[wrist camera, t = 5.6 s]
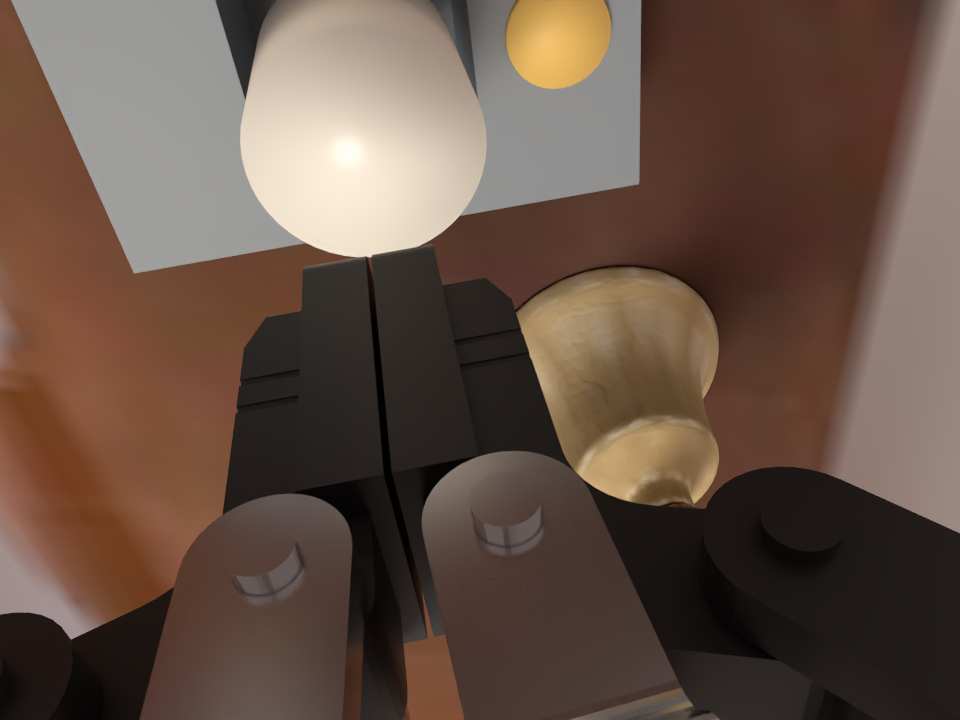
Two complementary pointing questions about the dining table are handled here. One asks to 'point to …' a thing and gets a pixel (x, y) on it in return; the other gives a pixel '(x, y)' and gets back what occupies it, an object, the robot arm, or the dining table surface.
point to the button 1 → (361, 124)
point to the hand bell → (628, 381)
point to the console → (223, 89)
